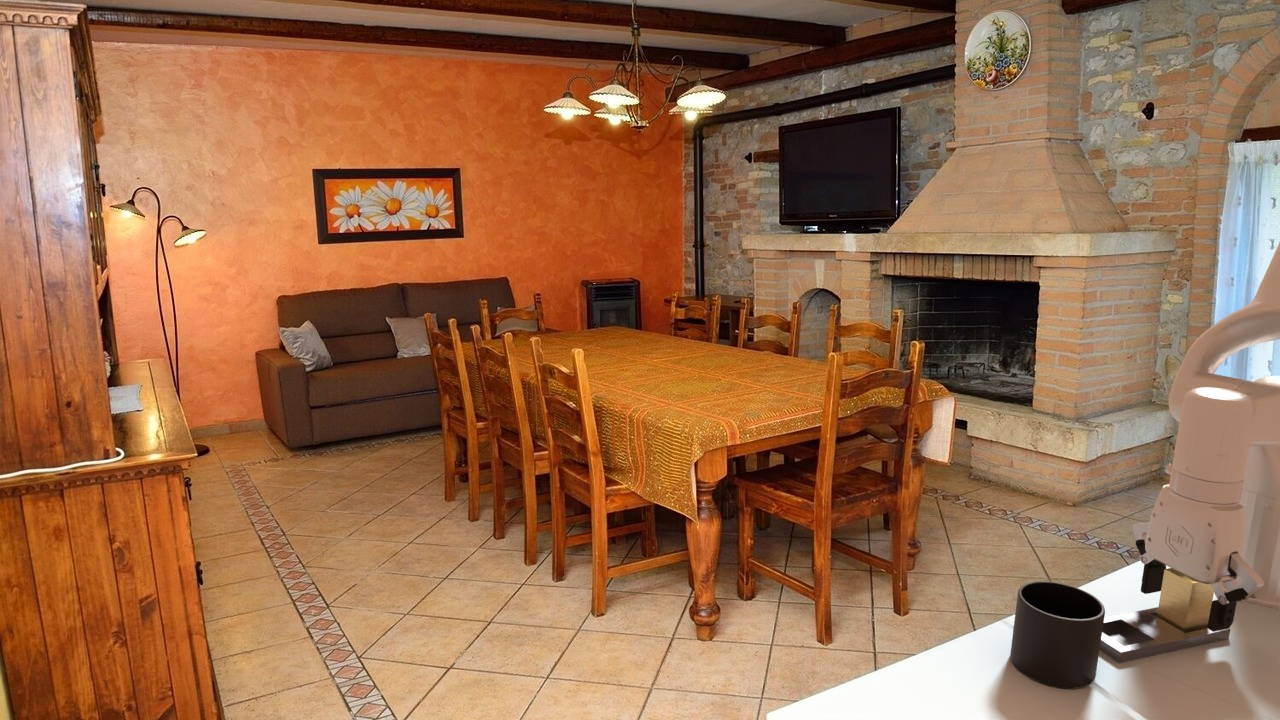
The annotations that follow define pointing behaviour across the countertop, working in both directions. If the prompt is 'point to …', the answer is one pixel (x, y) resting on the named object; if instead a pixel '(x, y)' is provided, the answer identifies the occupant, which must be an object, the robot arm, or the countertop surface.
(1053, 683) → the mug
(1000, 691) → the countertop surface
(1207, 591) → the wooden block
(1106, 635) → the grey slotted board
